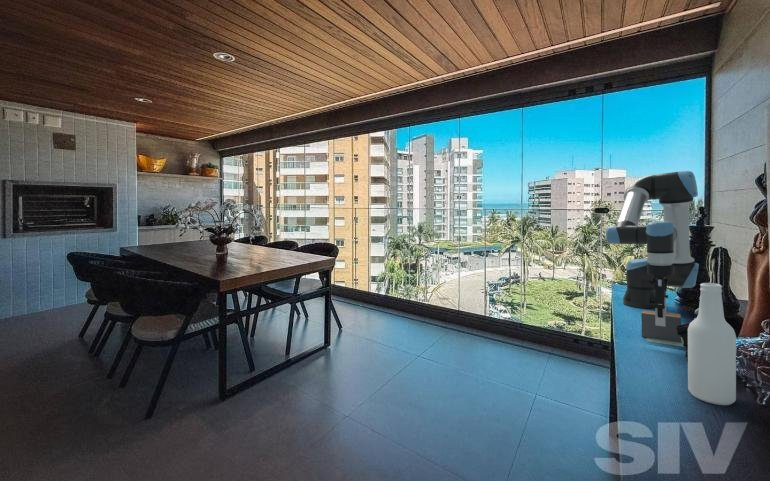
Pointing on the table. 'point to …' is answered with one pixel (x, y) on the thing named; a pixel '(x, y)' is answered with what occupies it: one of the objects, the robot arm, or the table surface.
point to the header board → (666, 342)
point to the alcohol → (712, 350)
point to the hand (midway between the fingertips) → (661, 320)
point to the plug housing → (660, 331)
